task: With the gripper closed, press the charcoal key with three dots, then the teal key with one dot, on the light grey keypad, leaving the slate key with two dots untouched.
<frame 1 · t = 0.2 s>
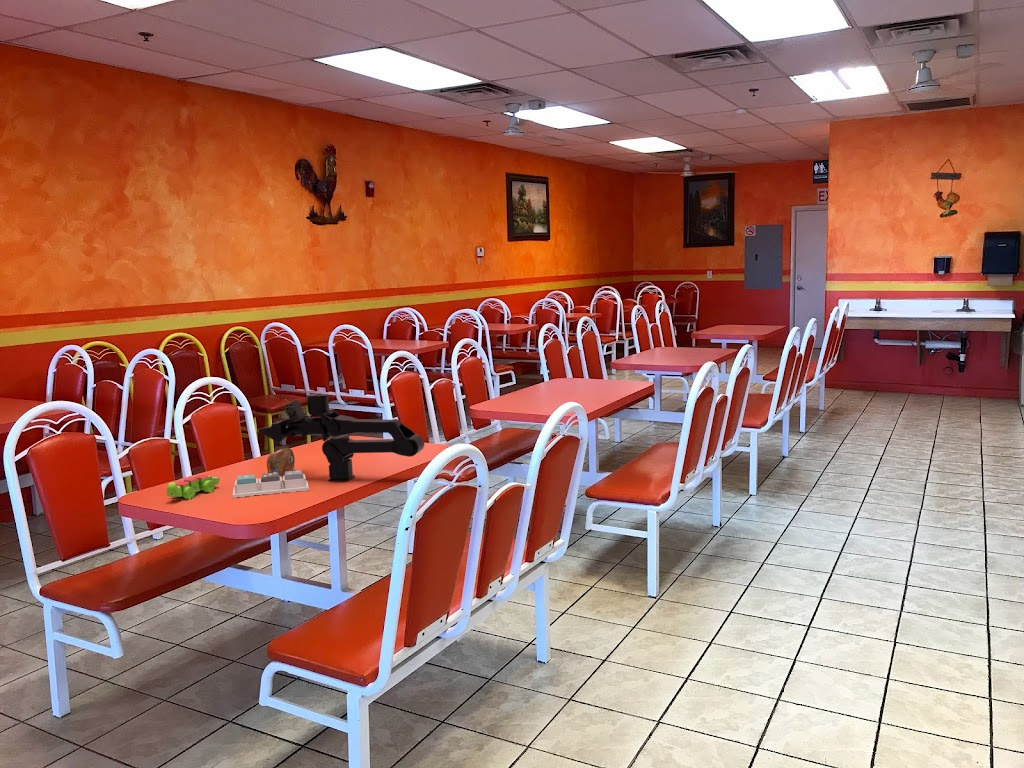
hand: (266, 427, 271), 17 cm above the table, tool horizontal, fingers open, 9 cm apart
toy crocodile: (193, 495, 255), on the table
brown flat rounded piece: (281, 475, 276), on the table
key three dots: (270, 478, 256), point 4 cm above the table, slide at 0.0 cm
key one dot: (246, 480, 254), point 4 cm above the table, slide at 0.0 cm
keypad: (271, 490, 256), on the table
key two dots: (293, 476, 258), point 4 cm above the table, slide at 0.0 cm
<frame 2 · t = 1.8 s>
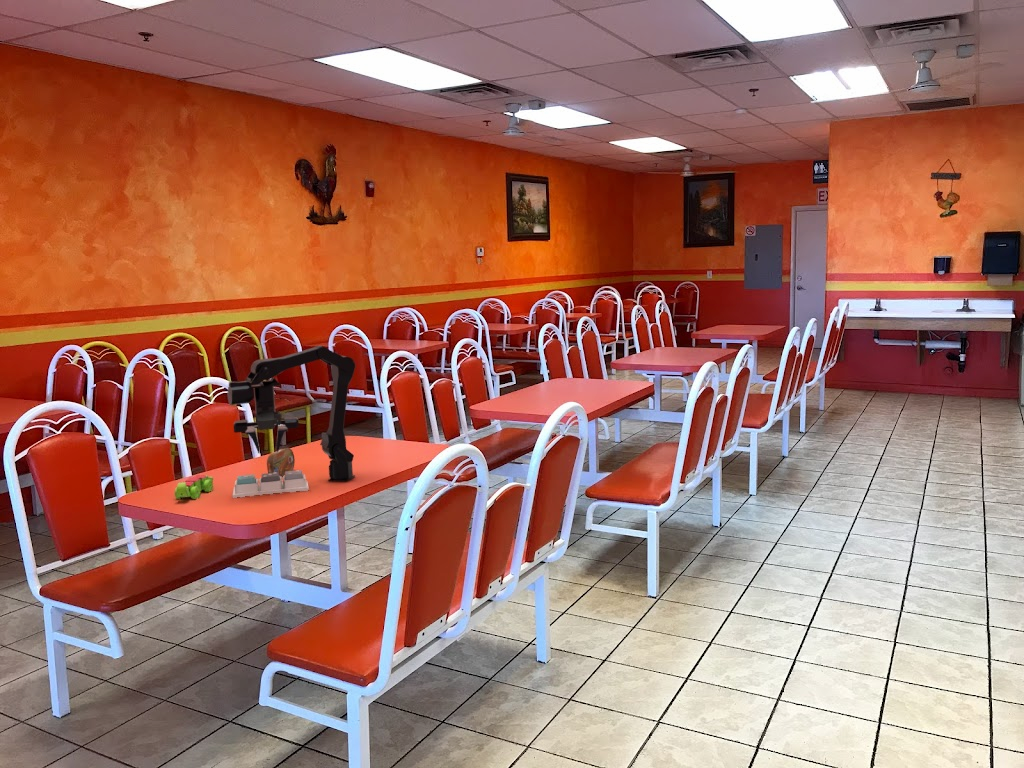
hand: (268, 452, 255), 12 cm above the table, tool pointing down, fingers open, 5 cm apart
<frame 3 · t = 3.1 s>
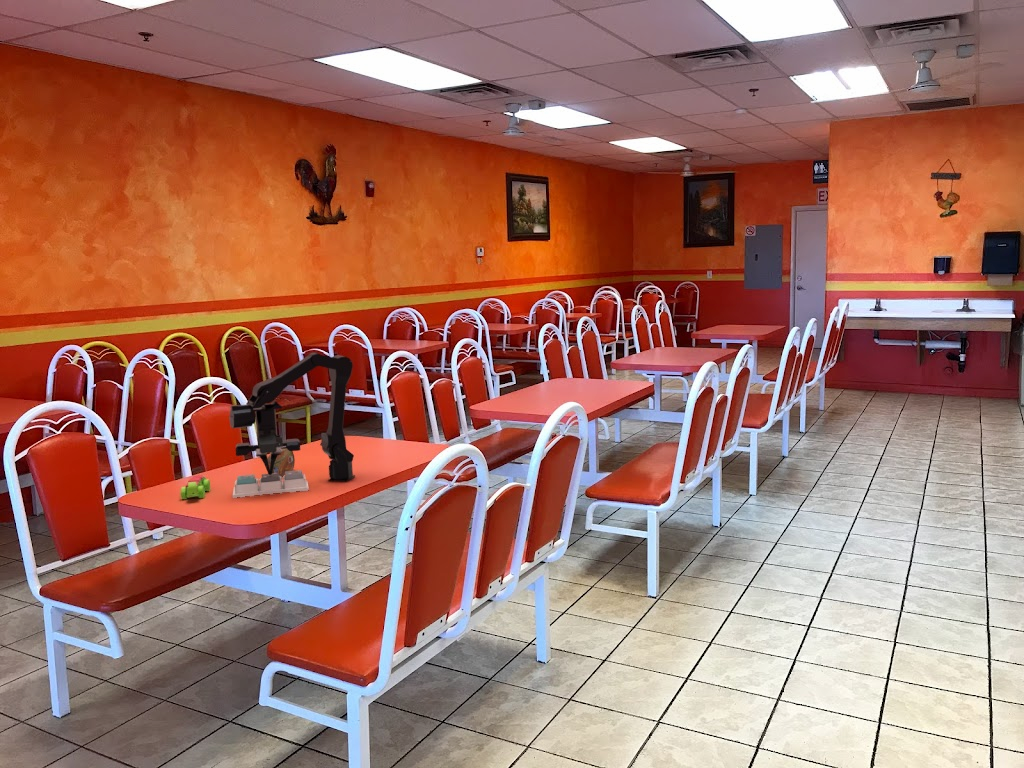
hand: (270, 474, 256), 5 cm above the table, tool pointing down, fingers closed, pressing on key three dots
key three dots: (270, 478, 256), point 4 cm above the table, slide at 0.2 cm, touching gripper
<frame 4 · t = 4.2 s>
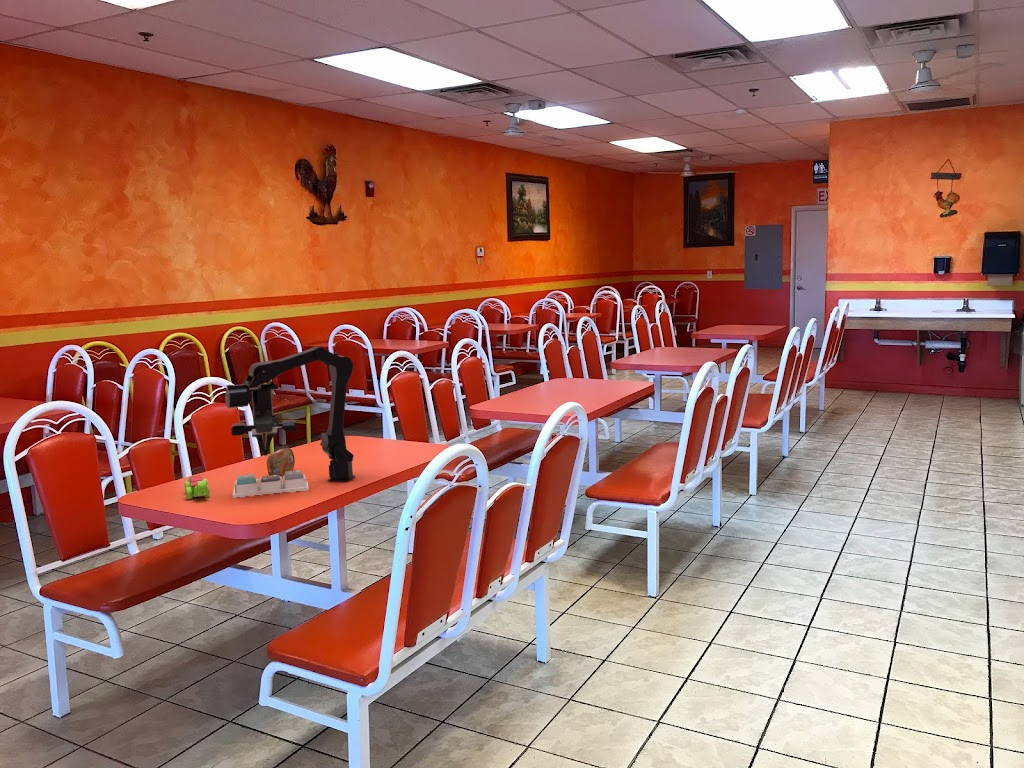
hand: (265, 455, 254), 11 cm above the table, tool pointing down, fingers closed
key three dots: (270, 481, 256), point 3 cm above the table, slide at 0.8 cm
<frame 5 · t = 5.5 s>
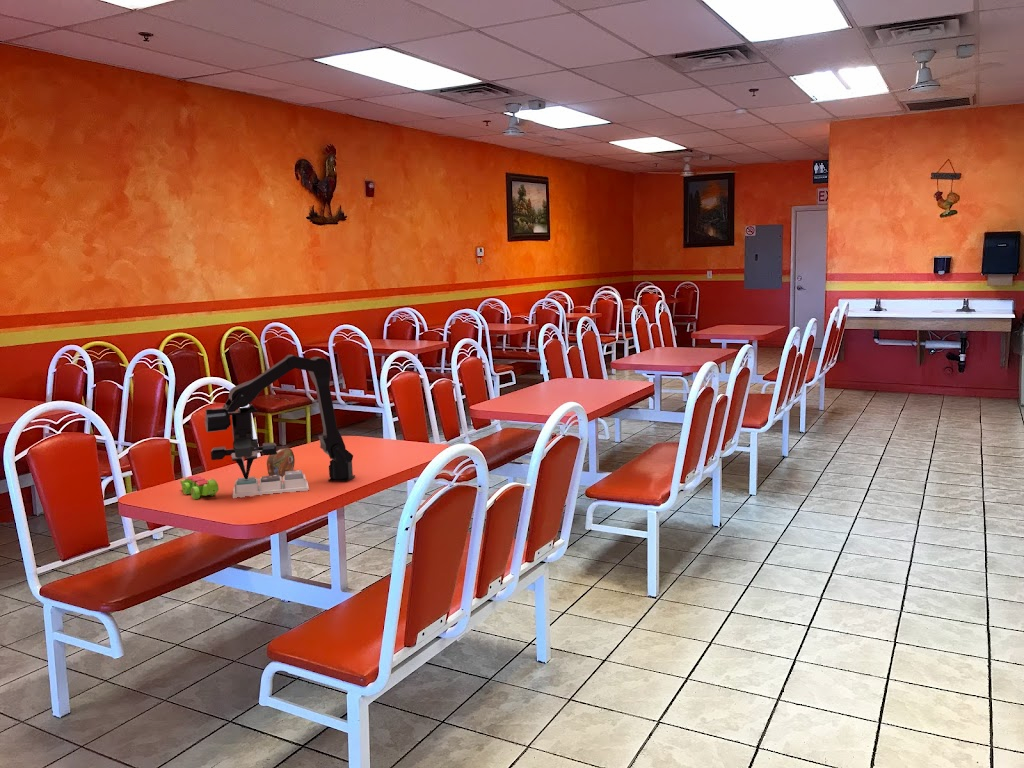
hand: (246, 478, 254), 4 cm above the table, tool pointing down, fingers closed, pressing on key one dot
key one dot: (246, 483, 254), point 3 cm above the table, slide at 0.7 cm, touching gripper
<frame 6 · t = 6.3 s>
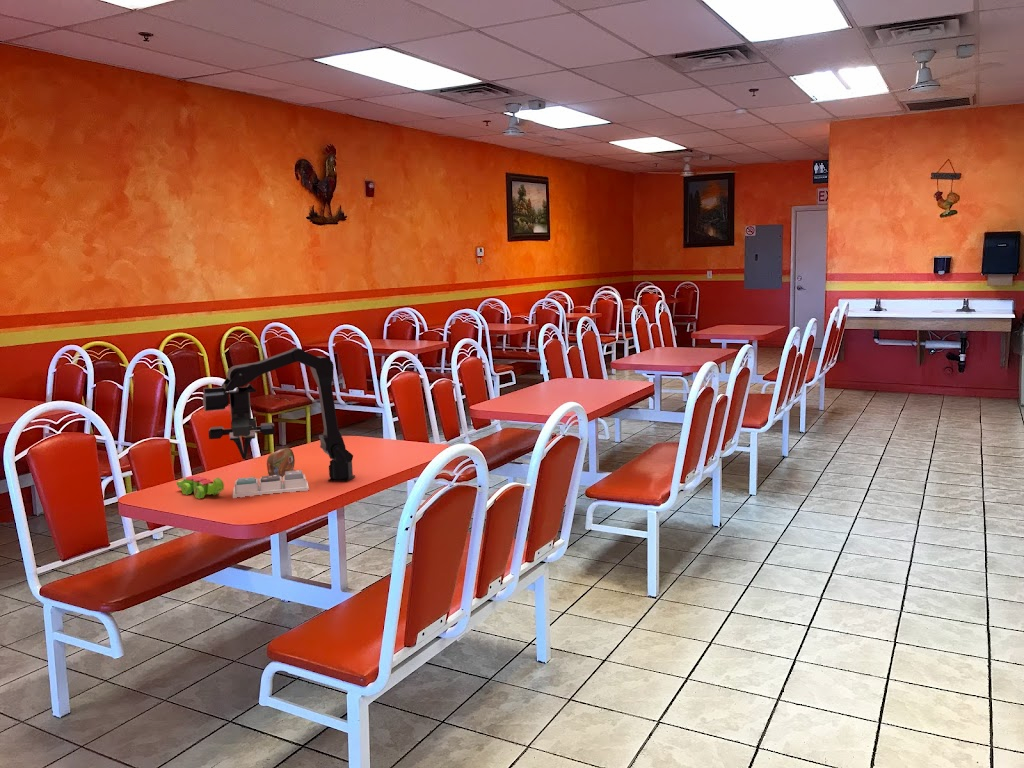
hand: (244, 458, 253), 11 cm above the table, tool pointing down, fingers closed
key one dot: (246, 483, 254), point 3 cm above the table, slide at 0.8 cm
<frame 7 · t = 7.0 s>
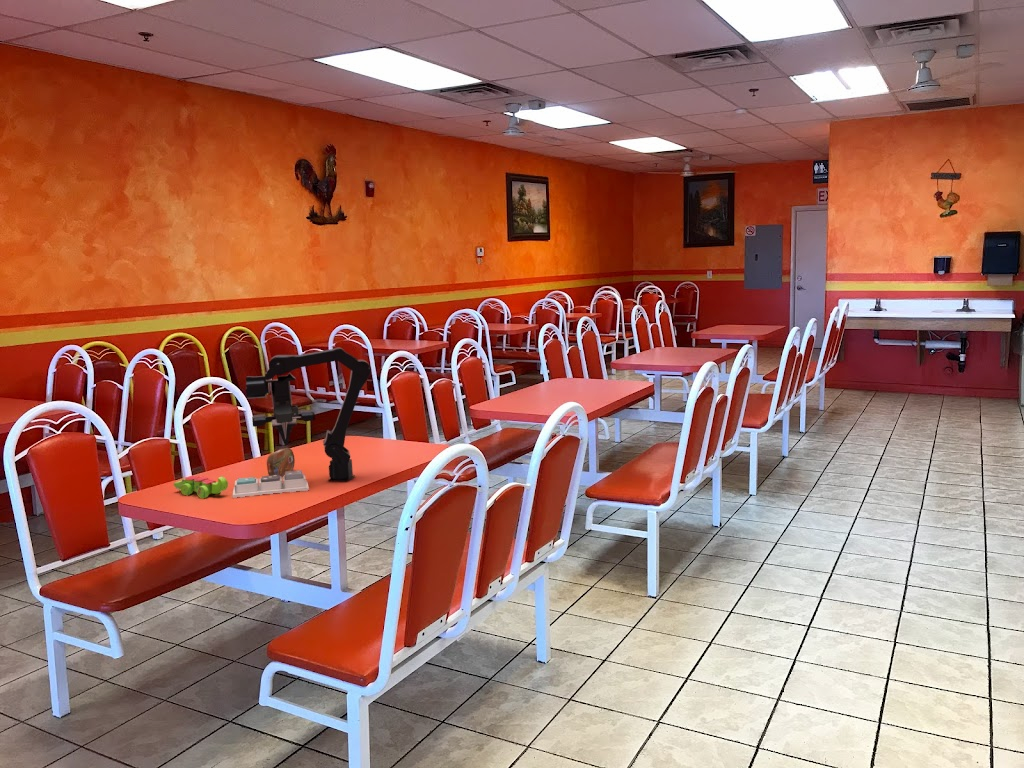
hand: (286, 445, 262), 12 cm above the table, tool pointing down, fingers closed
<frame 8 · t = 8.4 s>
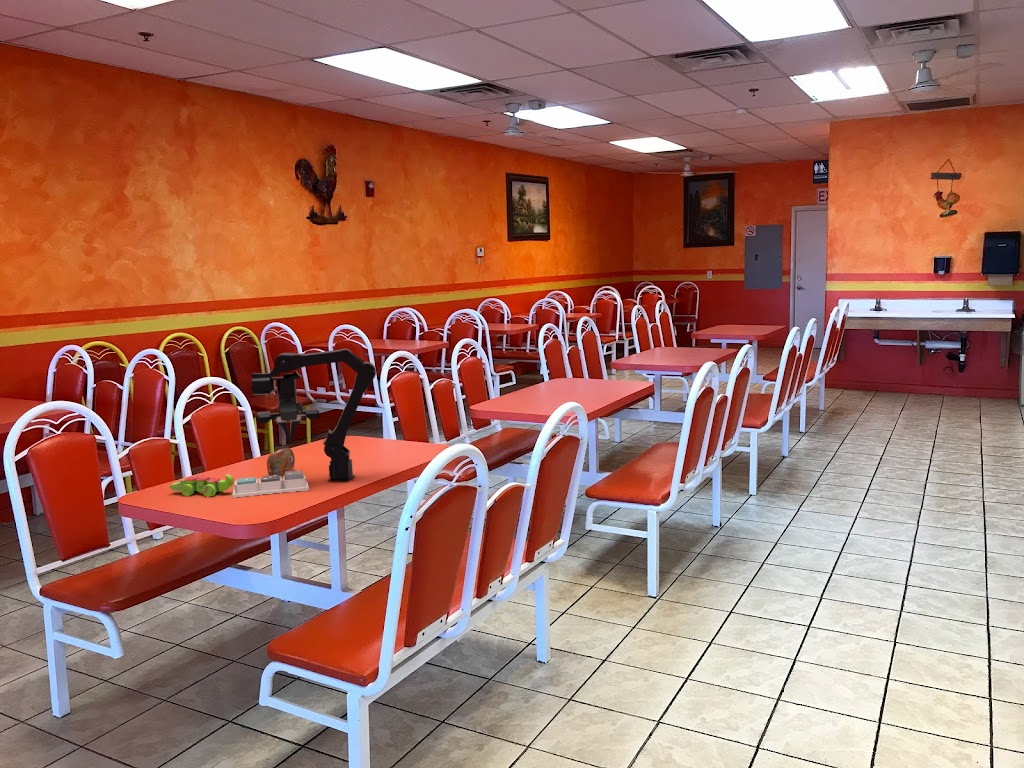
hand: (290, 442, 264), 13 cm above the table, tool pointing down, fingers closed
at the end: key three dots slide at 0.8 cm; key one dot slide at 0.8 cm; key two dots slide at 0.0 cm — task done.
